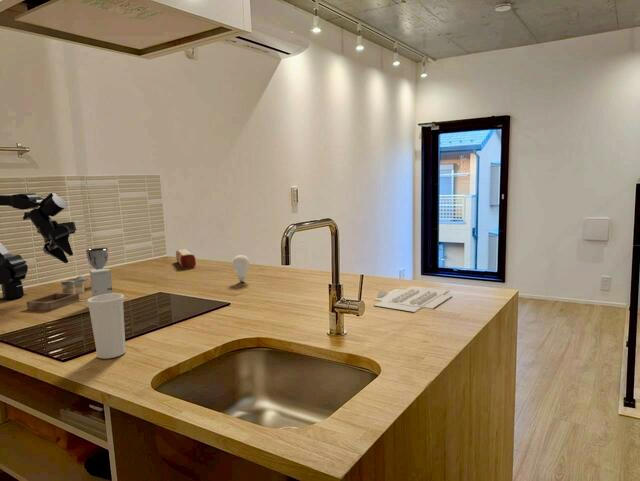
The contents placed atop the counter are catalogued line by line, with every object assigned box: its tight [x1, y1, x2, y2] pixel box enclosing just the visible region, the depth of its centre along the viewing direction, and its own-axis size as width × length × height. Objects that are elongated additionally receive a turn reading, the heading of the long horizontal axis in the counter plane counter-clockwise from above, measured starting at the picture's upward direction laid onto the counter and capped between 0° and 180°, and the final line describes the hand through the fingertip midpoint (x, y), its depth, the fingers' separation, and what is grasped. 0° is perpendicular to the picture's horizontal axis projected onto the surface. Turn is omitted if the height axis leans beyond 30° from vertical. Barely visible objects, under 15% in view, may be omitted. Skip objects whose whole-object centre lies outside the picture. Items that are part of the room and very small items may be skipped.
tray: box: [373, 285, 453, 314], centre depth 147 cm, size 20×28×4 cm
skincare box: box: [89, 268, 114, 297], centre depth 153 cm, size 6×4×12 cm
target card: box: [77, 296, 92, 302], centre depth 165 cm, size 6×9×1 cm, turn 165°
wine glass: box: [85, 247, 109, 270], centre depth 182 cm, size 8×8×15 cm
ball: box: [76, 275, 86, 281], centre depth 184 cm, size 4×4×4 cm
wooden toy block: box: [61, 277, 86, 296], centre depth 168 cm, size 5×5×6 cm
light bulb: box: [232, 254, 250, 283], centre depth 179 cm, size 7×7×11 cm
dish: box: [83, 278, 91, 287], centre depth 184 cm, size 7×7×2 cm
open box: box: [26, 292, 80, 312], centre depth 156 cm, size 10×12×3 cm
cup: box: [86, 292, 126, 359], centre depth 108 cm, size 8×8×14 cm
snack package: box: [175, 248, 197, 270], centre depth 221 cm, size 22×7×7 cm, turn 23°
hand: (69, 259), depth 164 cm, fingers open, 9 cm apart
